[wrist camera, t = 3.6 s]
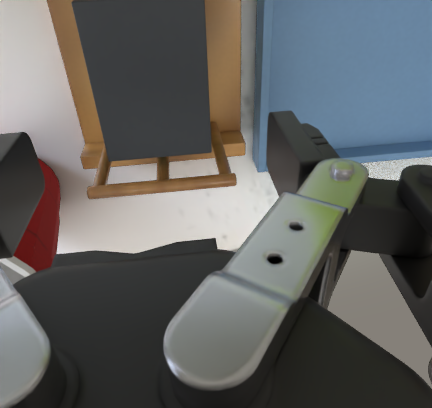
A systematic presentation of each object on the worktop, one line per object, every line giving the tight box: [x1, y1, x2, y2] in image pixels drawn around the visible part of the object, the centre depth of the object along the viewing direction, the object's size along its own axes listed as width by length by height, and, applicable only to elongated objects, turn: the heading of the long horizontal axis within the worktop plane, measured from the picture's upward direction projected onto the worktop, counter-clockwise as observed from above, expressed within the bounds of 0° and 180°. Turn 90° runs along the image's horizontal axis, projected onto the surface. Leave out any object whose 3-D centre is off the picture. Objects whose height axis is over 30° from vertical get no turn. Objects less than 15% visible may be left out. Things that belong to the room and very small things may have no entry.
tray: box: [253, 0, 432, 172], centre depth 25 cm, size 16×13×2 cm
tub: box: [71, 0, 212, 162], centre depth 21 cm, size 6×8×6 cm
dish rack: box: [47, 0, 245, 199], centre depth 20 cm, size 11×13×9 cm
